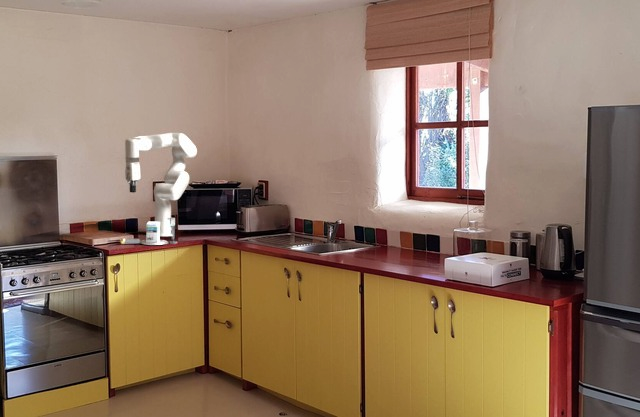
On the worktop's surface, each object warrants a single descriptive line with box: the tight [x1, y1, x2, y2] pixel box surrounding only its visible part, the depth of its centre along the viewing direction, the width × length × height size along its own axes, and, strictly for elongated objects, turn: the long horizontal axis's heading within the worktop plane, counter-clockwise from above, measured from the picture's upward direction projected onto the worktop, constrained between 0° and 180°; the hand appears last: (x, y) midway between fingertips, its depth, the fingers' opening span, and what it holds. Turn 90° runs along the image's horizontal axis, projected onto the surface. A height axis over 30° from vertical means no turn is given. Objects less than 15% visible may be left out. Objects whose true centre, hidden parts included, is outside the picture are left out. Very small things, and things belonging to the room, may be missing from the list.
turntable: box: [120, 238, 169, 246], centre depth 420 cm, size 16×26×3 cm, turn 116°
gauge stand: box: [167, 217, 178, 245], centre depth 427 cm, size 4×5×15 cm
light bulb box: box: [145, 221, 161, 243], centre depth 422 cm, size 11×7×11 cm, turn 7°
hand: (132, 192), depth 431 cm, fingers closed
